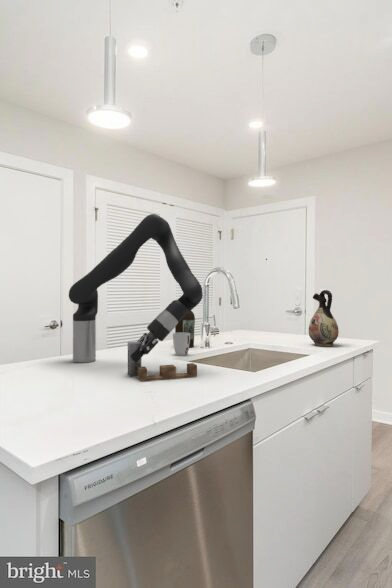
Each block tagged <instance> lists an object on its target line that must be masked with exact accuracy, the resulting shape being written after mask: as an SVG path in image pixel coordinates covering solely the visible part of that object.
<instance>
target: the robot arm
mask: <svg viewBox="0 0 392 588" xmlns="http://www.w3.org/2000/svg"><path fill="white" fill-rule="evenodd" d="M151 239H152V240H154V241H155V242H156V243H157V244H158V245H159V247H160V248H161V250H162V251H163V254H164V257H165V261H166V264H167V267H168V269H169V271H170V273H171V275H172V276H173V278H174V280H175V281H176V282H177V283H178V285H179V287H180V288H181V292H182V293H183V294H182V295H181V296H180V297H179V298H177V299H174V300H172V301H171V302H170V303H169V304H168V305H167V306H166V308H165V309H163V310H161V312H159V313H158V315H157V316H156V317H155V318H153V320H152V321H151V322H150V323H148V325H147V327H146V329H147V330H148V331H149V332H148V333H147V332H145V333H143V335H141V337H140V338H139V339H138V340H137V341H136V342H140V343H141V348H140V351H138V352H137V353H136V354H135V355H134V356H133V357H132V360H133V361H134V362H138V361H139V359H140V358H141V359H142V358H143V357H144V356H145V355H149V353H150V352H151V351H152V350H153V349H154V348H155V346H156V345H158V344H159V341H160V342H163V341H164V340H165V339H166V338H167V337H168V335H170V333H171V332H172V331H173V330H175V327H176V325H177V324H178V322H179V321H180V320H181V319H182V318H183V317H184V316H185V315H186V314H187V313H188V312H189V311H192V310H194V308H195V307H197V306H198V305H199V304H200V303H201V301H202V299H203V296H204V295H203V287H202V286H201V283H200V281H199V280H198V279H197V277H196V276H195V275H194V273H193V272H192V270H191V268H190V266H189V265H188V262H187V261H186V259H185V258H184V255H183V254H182V253H181V250H180V247H179V246H178V245H177V242H176V240H175V236H174V234H173V232H172V228H171V226H170V224H169V222H168V221H167V220H166V219H165V218H164V217H161V216H160V215H158V214H156V213H151V214H148V215H146V216H145V217H144V218H143V219H142V220H141V221H140V222H139V224H137V226H136V227H135V228H134V229H133V230H132V232H130V233H129V235H128V236H126V238H125V239H123V241H122V242H120V243H119V244H118V245H117V246H116V247H115V248H114V249H113V250H111V252H110V253H108V254H107V255H106V256H105V257H103V259H102V260H101V261H100V262H99V263H98V264H97V265H96V266H95V267H93V269H91V271H89V272H88V273H87V274H86V275H84V276H83V277H82V278H80V279H79V280H77V281H76V282H74V284H72V286H70V289H69V290H68V299H69V301H70V302H72V303H73V304H76V305H78V307H77V309H76V311H75V312H74V313H72V362H73V363H92V362H95V361H96V360H97V359H96V358H97V354H96V349H97V348H96V347H97V346H96V345H97V343H96V336H97V335H96V331H97V330H96V329H97V328H96V323H97V322H96V318H97V317H96V316H97V314H98V308H99V307H98V306H99V304H98V303H99V293H98V288H99V287H101V286H102V285H104V284H106V283H108V282H109V281H111V280H113V279H115V278H117V277H118V276H120V275H122V274H123V273H124V272H125V271H126V270H127V269H128V268H129V267H130V266H131V265H132V264H133V262H134V261H135V259H136V256H137V255H138V252H139V250H140V248H141V247H142V246H143V245H144V244H145V243H147V242H148V241H149V240H151Z"/></svg>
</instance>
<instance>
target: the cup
mask: <svg viewBox="0 0 392 588" xmlns="http://www.w3.org/2000/svg"><path fill="white" fill-rule="evenodd" d="M172 341H173V342H172V343H173V344H172V345H173V349H174V352H175V356H178V357H179V356H180V357H181V356H183V357H184V356H188V353H189V349H190V348H189V344H190V333H186V332H178V333H175V332H172Z"/></svg>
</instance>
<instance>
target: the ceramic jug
mask: <svg viewBox="0 0 392 588" xmlns="http://www.w3.org/2000/svg"><path fill="white" fill-rule="evenodd" d="M326 295H327V298H326ZM312 299H313V300H315V301H317V302H318V303H319V304H318V308H317V309H316V311H315V312H314V314H313V315H312V318H311V319H310V321H309V324H308V325H309V326H308V335H309V338H310V339H311V340H312V342H313V343H314V346H316V347H332V346H334V343H335V342H336V341H337V339H338V337H339V325H338V322H337V321H336V319H335V317H334V315H333V314H332V312H331V308H332V302H333V295H332V292H331V291H330V290H327V289H325V290H322V291H320V293H319V294H318V293H317V292H316V293H314V294H313V296H312Z"/></svg>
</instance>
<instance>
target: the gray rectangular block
mask: <svg viewBox="0 0 392 588" xmlns="http://www.w3.org/2000/svg"><path fill="white" fill-rule="evenodd" d="M140 348H141V343H140V342H137V341H128V342H127V375H128V376H129V378H131V377H132V378H133V377H138V367H142V357H141V358H140V359H139V361H138V362H134V361H133V360H132V357H133V356H134V355H135V354H136V353H137V352H138V351H140Z"/></svg>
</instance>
